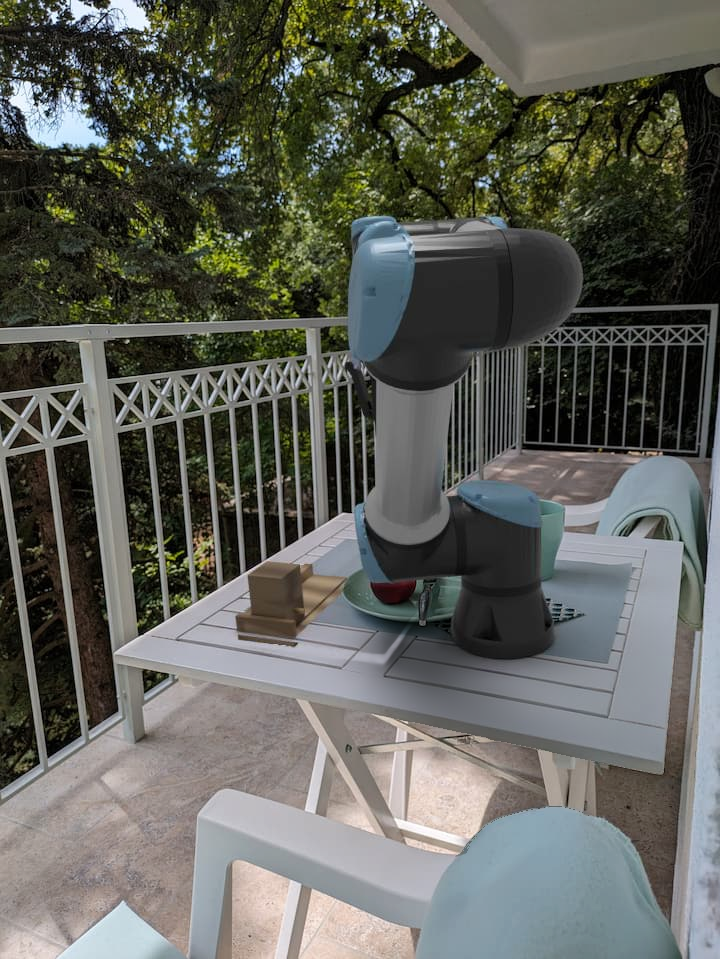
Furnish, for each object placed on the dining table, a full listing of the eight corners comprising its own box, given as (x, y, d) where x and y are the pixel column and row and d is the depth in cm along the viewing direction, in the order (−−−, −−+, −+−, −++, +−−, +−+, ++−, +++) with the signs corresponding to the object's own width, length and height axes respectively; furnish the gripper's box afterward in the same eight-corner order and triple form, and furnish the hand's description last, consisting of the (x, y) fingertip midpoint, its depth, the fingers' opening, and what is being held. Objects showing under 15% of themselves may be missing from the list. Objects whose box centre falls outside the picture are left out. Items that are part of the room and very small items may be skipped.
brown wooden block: (272, 612, 120) (266, 561, 118) (313, 617, 117) (309, 565, 115) (253, 628, 115) (247, 575, 112) (296, 634, 112) (291, 579, 109)
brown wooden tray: (306, 581, 136) (304, 561, 135) (356, 586, 132) (354, 565, 131) (238, 639, 115) (235, 616, 114) (294, 647, 111) (292, 623, 110)
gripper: (424, 313, 121) (431, 453, 127) (350, 318, 126) (360, 453, 131) (412, 315, 114) (420, 462, 120) (334, 320, 119) (345, 462, 124)
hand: (388, 457), depth 125 cm, fingers closed
